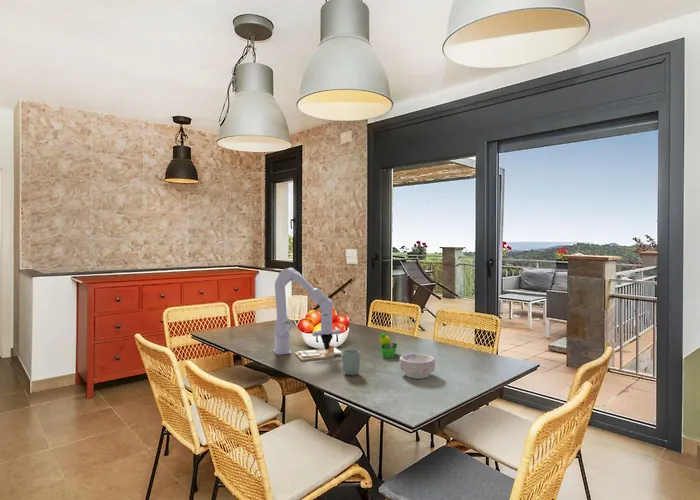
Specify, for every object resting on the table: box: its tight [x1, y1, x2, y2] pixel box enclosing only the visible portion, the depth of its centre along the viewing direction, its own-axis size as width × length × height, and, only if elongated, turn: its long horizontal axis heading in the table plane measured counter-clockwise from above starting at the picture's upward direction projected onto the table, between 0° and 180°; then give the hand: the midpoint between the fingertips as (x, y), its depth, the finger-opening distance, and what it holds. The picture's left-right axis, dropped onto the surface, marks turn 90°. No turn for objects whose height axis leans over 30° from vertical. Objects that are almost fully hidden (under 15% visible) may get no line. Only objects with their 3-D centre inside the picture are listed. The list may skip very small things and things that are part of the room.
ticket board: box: [293, 348, 336, 362], centre depth 211 cm, size 14×17×2 cm
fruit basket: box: [378, 332, 398, 359], centre depth 214 cm, size 11×9×11 cm
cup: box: [341, 348, 361, 376], centre depth 183 cm, size 8×8×10 cm
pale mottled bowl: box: [399, 353, 436, 380], centre depth 182 cm, size 15×15×8 cm
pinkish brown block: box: [324, 343, 343, 356], centre depth 215 cm, size 10×6×4 cm, turn 22°
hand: (326, 349), depth 214 cm, fingers closed
